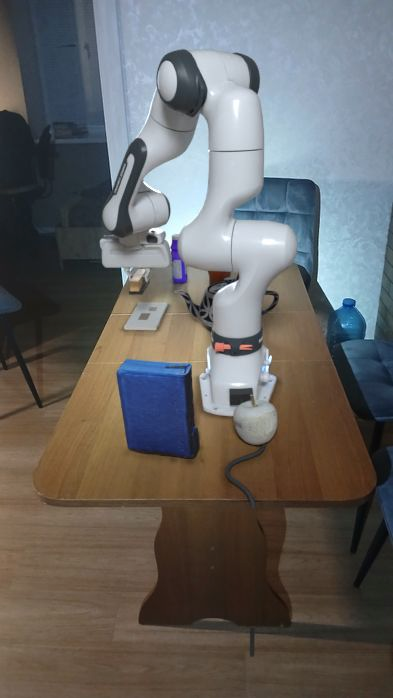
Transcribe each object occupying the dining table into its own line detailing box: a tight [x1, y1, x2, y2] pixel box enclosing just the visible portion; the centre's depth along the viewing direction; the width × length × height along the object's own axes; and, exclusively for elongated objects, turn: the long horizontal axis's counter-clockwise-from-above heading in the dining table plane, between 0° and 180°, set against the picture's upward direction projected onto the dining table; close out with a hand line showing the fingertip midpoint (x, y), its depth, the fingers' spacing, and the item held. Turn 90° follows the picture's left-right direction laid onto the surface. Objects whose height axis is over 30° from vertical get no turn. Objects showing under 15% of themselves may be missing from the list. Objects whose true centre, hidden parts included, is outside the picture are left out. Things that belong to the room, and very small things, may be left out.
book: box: [115, 358, 200, 459], centre depth 95 cm, size 14×5×20 cm, turn 76°
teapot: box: [173, 276, 280, 331], centre depth 148 cm, size 19×31×15 cm, turn 91°
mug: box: [207, 271, 239, 286], centre depth 173 cm, size 12×9×10 cm
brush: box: [128, 268, 151, 296], centre depth 149 cm, size 11×4×4 cm, turn 172°
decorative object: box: [232, 395, 279, 446], centre depth 100 cm, size 9×9×10 cm
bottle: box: [170, 233, 188, 284], centre depth 186 cm, size 7×6×17 cm
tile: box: [123, 301, 169, 331], centre depth 160 cm, size 20×10×1 cm, turn 172°
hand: (139, 281), depth 149 cm, fingers closed on brush, 2 cm apart
